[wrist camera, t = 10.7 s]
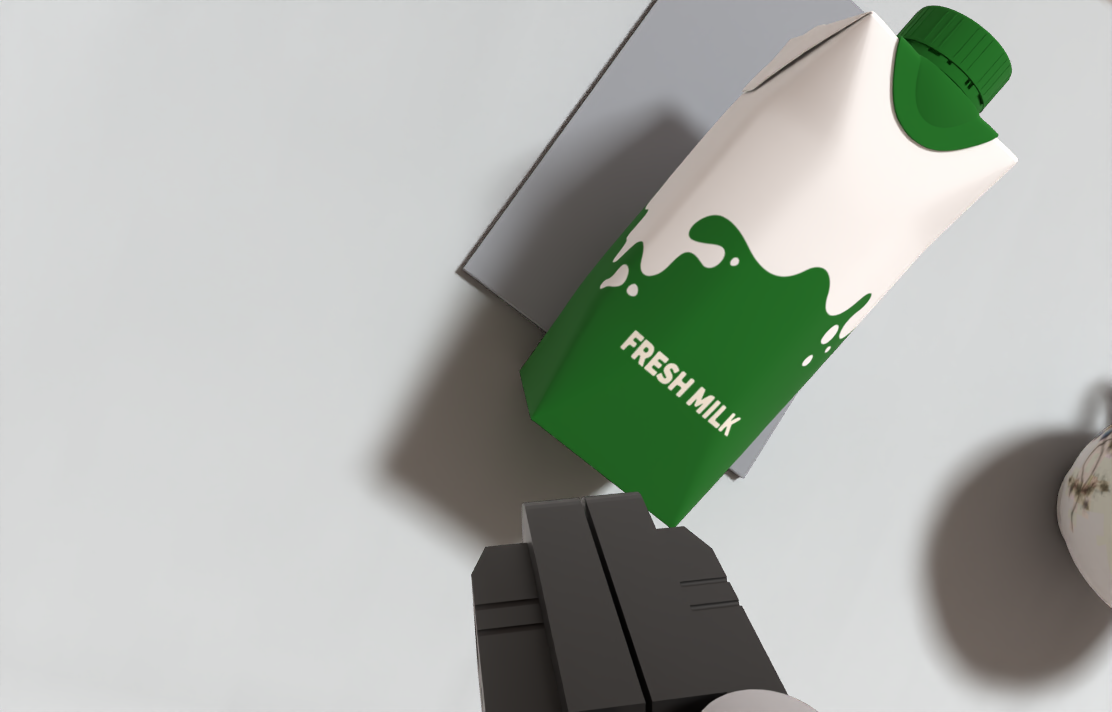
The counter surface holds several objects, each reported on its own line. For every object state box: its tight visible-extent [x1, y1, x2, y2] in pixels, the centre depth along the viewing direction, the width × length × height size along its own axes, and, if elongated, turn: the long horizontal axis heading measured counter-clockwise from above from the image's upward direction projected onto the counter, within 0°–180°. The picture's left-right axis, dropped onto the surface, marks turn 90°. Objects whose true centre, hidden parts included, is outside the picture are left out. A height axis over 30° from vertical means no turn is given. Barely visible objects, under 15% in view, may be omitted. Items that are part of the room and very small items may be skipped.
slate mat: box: [462, 0, 864, 478], centre depth 42 cm, size 16×22×1 cm
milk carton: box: [520, 6, 1018, 528], centre depth 35 cm, size 9×9×20 cm
